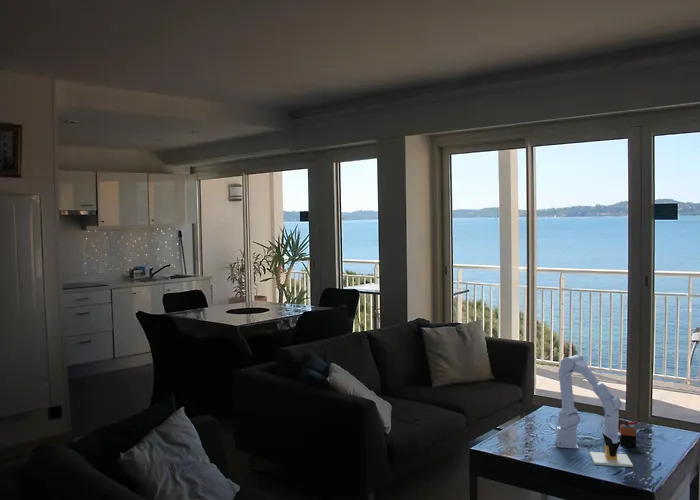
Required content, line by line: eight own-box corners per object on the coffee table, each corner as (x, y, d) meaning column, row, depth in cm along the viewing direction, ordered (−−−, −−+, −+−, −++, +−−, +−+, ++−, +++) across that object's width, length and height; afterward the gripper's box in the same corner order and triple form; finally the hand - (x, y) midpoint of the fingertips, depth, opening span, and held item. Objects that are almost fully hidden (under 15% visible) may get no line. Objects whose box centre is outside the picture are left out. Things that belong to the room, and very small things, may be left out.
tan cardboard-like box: (606, 459, 280) (606, 448, 280) (604, 455, 284) (604, 445, 284) (617, 460, 279) (617, 449, 279) (614, 456, 283) (615, 445, 283)
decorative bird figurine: (602, 430, 318) (602, 411, 317) (638, 432, 316) (639, 413, 315) (603, 432, 315) (604, 413, 315) (640, 434, 313) (641, 415, 312)
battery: (636, 447, 296) (636, 427, 295) (620, 446, 298) (621, 426, 297) (634, 444, 300) (635, 424, 300) (619, 443, 302) (619, 422, 301)
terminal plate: (594, 464, 277) (594, 454, 277) (589, 453, 289) (589, 444, 289) (632, 467, 274) (633, 457, 274) (626, 456, 286) (626, 446, 286)
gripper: (624, 429, 273) (624, 460, 274) (617, 418, 287) (616, 447, 288) (607, 428, 274) (607, 458, 275) (601, 417, 288) (600, 446, 289)
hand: (610, 452), depth 281 cm, fingers open, 7 cm apart
